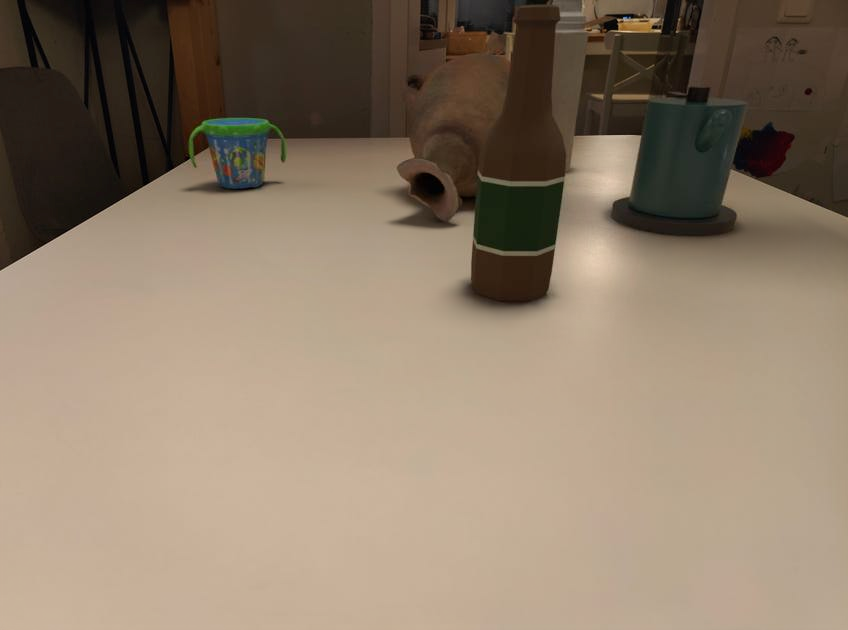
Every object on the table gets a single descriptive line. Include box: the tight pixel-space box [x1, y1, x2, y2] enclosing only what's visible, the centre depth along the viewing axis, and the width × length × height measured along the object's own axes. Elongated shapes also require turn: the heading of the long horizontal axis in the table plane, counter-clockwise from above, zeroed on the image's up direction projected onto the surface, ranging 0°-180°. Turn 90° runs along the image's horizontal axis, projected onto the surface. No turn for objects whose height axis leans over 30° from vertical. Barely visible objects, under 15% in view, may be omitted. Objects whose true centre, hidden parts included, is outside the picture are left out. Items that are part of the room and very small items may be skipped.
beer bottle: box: [470, 4, 566, 302], centre depth 54 cm, size 8×8×24 cm
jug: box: [396, 52, 511, 223], centre depth 88 cm, size 20×20×30 cm
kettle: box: [629, 85, 749, 218], centre depth 78 cm, size 21×11×15 cm, turn 172°
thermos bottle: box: [551, 0, 589, 173], centre depth 106 cm, size 8×8×28 cm
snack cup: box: [188, 117, 287, 190], centre depth 100 cm, size 16×10×10 cm
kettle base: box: [610, 196, 738, 237], centre depth 81 cm, size 15×15×2 cm
